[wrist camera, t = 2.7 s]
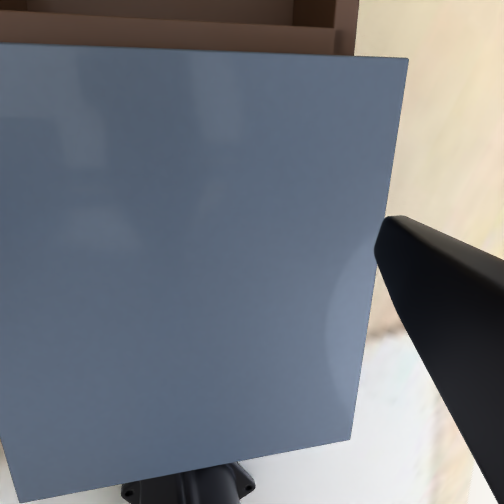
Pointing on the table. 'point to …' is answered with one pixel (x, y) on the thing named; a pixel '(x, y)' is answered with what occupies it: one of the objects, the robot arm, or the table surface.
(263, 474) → the table surface
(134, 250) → the cabinet
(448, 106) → the table surface
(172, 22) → the drawer
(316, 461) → the table surface
